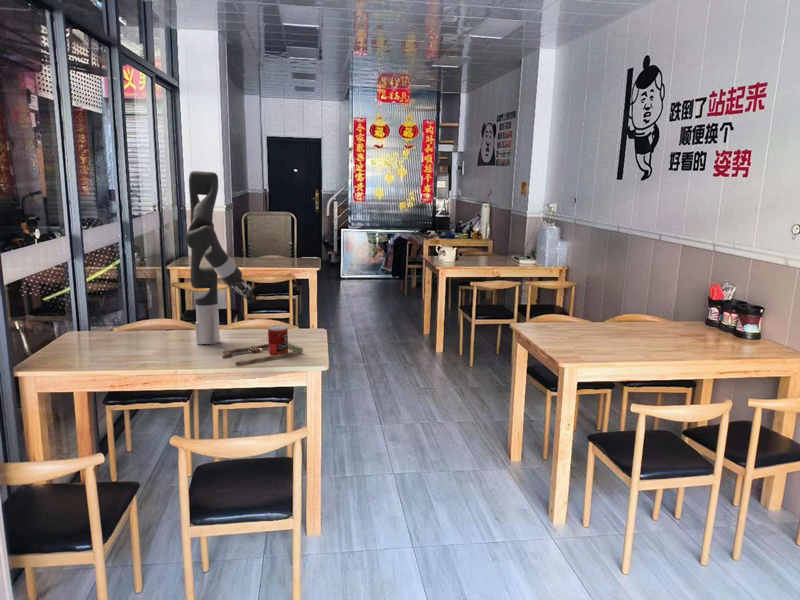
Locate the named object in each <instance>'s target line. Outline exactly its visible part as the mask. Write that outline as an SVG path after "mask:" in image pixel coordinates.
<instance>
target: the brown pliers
mask: <svg viewBox="0 0 800 600" xmlns="http://www.w3.org/2000/svg"><path fill="white" fill-rule="evenodd" d="M258 348H262V350H264V351H269V350H268V349H269V343H265V344H257V345H253V346H246V347H239V348H233V349H228V350H223V351H222V355H221V356H222V358H223V359H226V358H227V359H228V358H233V356H241V355H246V354H251V353H250V351H251V352H253V353H252V354H255V353H254V352H258V353H261V351H260V349H258ZM289 349H290V350H289ZM248 350H249V351H248ZM288 350H289V351H291V350H293V351H291V352H288V353H285V354H279V355H267V356H264V357H263V356H261V357H256V358H250V359H245V360H240V361H235V366H237V367H238V366H243V365H249V364H255V363H260V362H266V361H267V362H268V361H271V360H277V358H278V359H283V358H288V357H287V356H289V357H293V356H292V355H295V356H298V355H297V354H300V355H303V354H304V348H303V347H302V346H298V345H296V344H294V343H292V342H290V341H288ZM294 351H295V352H294ZM245 353H246V354H245ZM302 353H303V354H302ZM282 357H283V358H282Z"/></svg>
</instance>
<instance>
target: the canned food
mask: <svg viewBox="0 0 800 600" xmlns="http://www.w3.org/2000/svg"><path fill="white" fill-rule="evenodd" d="M288 333H289V332H288V326H286V325H282V324H280V325H277V324H276V325H275V324H274V325H270V326H268V328H267V339H268V344H269V350H268V353H269V355H270V354H271V355H270V356H273V355H279V354H285V353H289V349H288V342H289V338H288V337H289V336H288Z"/></svg>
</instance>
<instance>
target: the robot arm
mask: <svg viewBox="0 0 800 600" xmlns="http://www.w3.org/2000/svg"><path fill="white" fill-rule="evenodd" d="M188 189H189V190H188V191H189V192H188V193H189V201H190V202H189V203H190V204H189V205H190V225H189V227H188V230H187V231H186V236H185V241H186V244H187V246H188V247H189V249H191V251H190V252H191V258H190V285H191V287H192V288H193V289H196V290H199V289H208V290H207V291H206V292H205V293H203V294H201V295H198V296H197V297H196V298H195V299H194V300H195V313H196V315H195V316H196V321H195V336H196V345H202V344H207V345H208V344H210V345H216V344H218V343H220V341H221V336H220V320H219V319H220V318H219V316H220V315H219V299H218V298H219V297H218V296H219V295H218V277H219V278H220V279H221V280H222V282H223V283H224V284H225V285H226V286H228V288H230V289H231V290H233V291H234V292H235V293H236V294H237V295H239V296H242V297H244V298H245V300H246V301H247V302H248V303H249V304H253V302H254V301H255V297H254V296H253V295H252V293H253V285H252V284H250V283H249V284H247V283H246V281H245V280H244V279H243V278H242V277H243V272H242V271H241V270H240V269H239V266H237V264H236V263H235V262H234V260H233V259H232V258H230V256H229V255H228V254H227V253H226V252H225V250H224V249H223V248H222V246H221V243H220V242H219V238H218V235H217V234H216V231H215V226H214V225H215V224H214V222H213V215H214V208H215V205H216V201H217V198H218V197H217V196H218V193H219V192H218V191H219V177H218V174H217V173H216V172H213V171H206V170H205V171H201V170H191V171H190V172H189V175H188ZM200 195H201V196H205V197H204V198H203V199H201V200H200V198H199V196H200ZM203 258H204V259H206V261H207V262H208V263H209V265H210V266H200V265H201V262H202V260H203Z"/></svg>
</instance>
